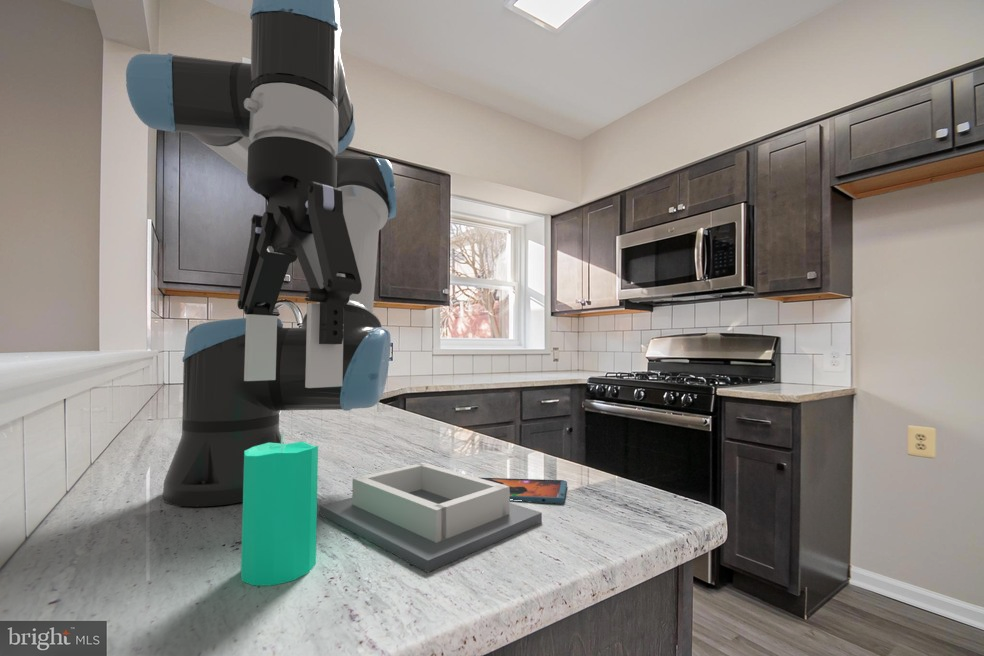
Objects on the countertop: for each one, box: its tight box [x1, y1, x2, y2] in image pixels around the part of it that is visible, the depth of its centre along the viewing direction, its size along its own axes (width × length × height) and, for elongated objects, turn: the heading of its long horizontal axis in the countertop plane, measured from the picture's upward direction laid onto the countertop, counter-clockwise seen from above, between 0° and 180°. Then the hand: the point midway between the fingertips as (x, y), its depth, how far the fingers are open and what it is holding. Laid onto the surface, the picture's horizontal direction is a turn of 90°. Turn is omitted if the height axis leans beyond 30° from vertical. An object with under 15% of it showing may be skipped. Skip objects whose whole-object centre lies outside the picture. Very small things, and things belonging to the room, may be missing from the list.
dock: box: [319, 462, 543, 573], centre depth 52 cm, size 20×16×4 cm
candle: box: [240, 429, 319, 586], centre depth 40 cm, size 6×6×12 cm
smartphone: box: [480, 477, 568, 505], centre depth 62 cm, size 8×1×15 cm
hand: (288, 383), depth 41 cm, fingers open, 13 cm apart
